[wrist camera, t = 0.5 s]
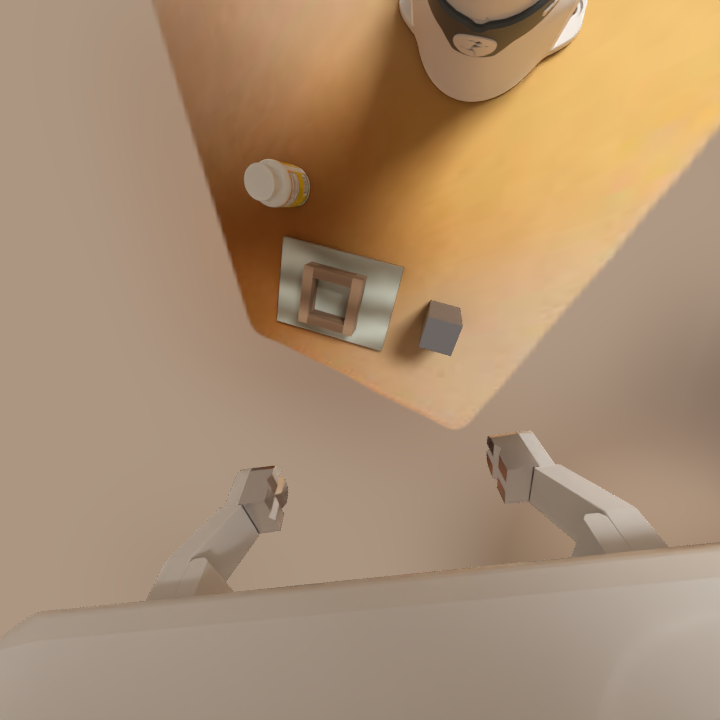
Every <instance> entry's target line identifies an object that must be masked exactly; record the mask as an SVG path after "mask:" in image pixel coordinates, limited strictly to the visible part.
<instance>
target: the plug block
mask: <svg viewBox="0 0 720 720" xmlns="http://www.w3.org/2000/svg"><path fill="white" fill-rule="evenodd" d="M462 327H463V325H462V318H461V311H460V308H458V307H454V306H451V305H447V304H443V303H440V302H436V301H432V300H431V302H430V305H429V308H428V311H427V314H426V317H425V320H424V323H423V326H422V331H421V336H420V342H419V347H421V348H424V349H428V350H431V351H435V352H438V353H442V354H445V355H448V356H451V354H452V352H453V349H454V347H455V344H456V342H457V339H458V337H459V334H460V332H461V329H462Z"/></svg>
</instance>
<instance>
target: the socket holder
mask: <svg viewBox="0 0 720 720" xmlns="http://www.w3.org/2000/svg"><path fill="white" fill-rule="evenodd" d="M403 270H404V267H402V266H398V265H394V264H391V263H387V262H383V261H379V260H375V259H371V258H368V257H364V256H360V255H356V254H352V253H349V252H345V251H341V250H337V249H333V248H329V247H326V246H322V245H318V244H314V243H310V242H307V241H303V240H299V239H295V238H291V237H287V236H285V237H283V247H282V260H281V273H280V286H279V300H278V313H277V321H280V322H284V323H287V324H291V325H294V326H297V327H301V328H304V329H308V330H311V331H314V332H318V333H321V334H324V335H328V336H331V337H335V338H338V339H341V340H345V341H348V342H351V343H355V344H358V345H362V346H365V347H368V348H372V349H375V350H378V351H382V348H383V344H384V340H385V337H386V333H387V329H388V326H389V322H390V318H391V314H392V311H393V307H394V303H395V300H396V296H397V292H398V289H399V285H400V281H401V277H402V274H403Z"/></svg>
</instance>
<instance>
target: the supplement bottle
mask: <svg viewBox="0 0 720 720" xmlns="http://www.w3.org/2000/svg"><path fill="white" fill-rule="evenodd" d="M244 184H245V188H246V190H247V192H248V193H249V195H250V196H251V197H252V198H254V199H255V200H258V201H260V202H261V203H263V204H264V205H266V206H269V207H298V206H301V205H302V204H304V203H305V201H306V200H307V199H308V196H309V193H310V183H309V179H308V177H307V175H306V173H305V172H304V171H303V170H302V169H301V168H300V167H298V166H295V165H292V164H288V163H284V162H281V161H277V160H274V159H264V160H262V161H260V162H258V163H253V164H251V165H250V166H249V167H248V168H247V169H246V171H245V175H244Z"/></svg>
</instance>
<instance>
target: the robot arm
mask: <svg viewBox="0 0 720 720" xmlns="http://www.w3.org/2000/svg"><path fill="white" fill-rule="evenodd" d="M587 2H588V0H399V6H400V13H401V16H402V18H403V20H404V21H405V23H406V24H407V26H408V27H409V28H410V30H411V31H412V32H413V34H414V35H415V38H416V41H417V44H418V48H419V53H420V57H421V60H422V63H423V66H424V68H425V70H426V72H427V74H428V76H429V78H430V79H431V81H432V82H433V83H434V84H435V86H436V87H437V88H438V89H439V90H441V91H442V92H443V93H445V94H446V95H448V96H450V97H452V98H454V99H457V100H461V101H466V102H477V101H484V100H488V99H491V98H494V97H496V96H498V95H501V94H502V93H504V92H506V91H508V90H509V89H511V88H512V87H514V86H515V85H516V84H517V83H519V82H520V81H521V80H522V79H523V78H524V77H525V76H526V75H527V74H528V73H529V72H530V71H531V70H532V69H533V68H534V67H535V66H536V65H537V64H538V63H539V62H540V61H541V60H542V59H544V58H545V57H546V56H548V55H551V54H552V53H554V52H556V51H558V50H560V49H562V48H564V47H565V46H567V45H568V44H569V43H571V42H572V41H573V40H574V39H575V37H576V36H577V34H578V32H579V30H580V28H581V26H582V22H583V18H584V14H585V10H586V6H587ZM574 11H575V14H574V15H573V16H572V14H573V13H574ZM487 445H488V447H489V450H488V451H487V463H488V467H489V470H490V473H491V475H492V477H493V478H494V479H496V480H497V488H498V491H499V493H500V495H501V497H502V500H503V502H504V504H508V503H520V502H529V503H530V504H531V505H532V506H534V507H535V508H536V509H537V510H538V511H540V512H541V513H542V514H543V515H544V516H545V517H547V518H548V519H549V520H550V521H552V522H553V523H554V524H555V525H556V526H557V527H559V528H560V529H561V530H562V531H563V532H565V533H566V534H567V535H568V536H569V537H571V538H572V539H573V540H574V541H575V542H576V545H575V548H574V551H573V554H572V557H570V558H560V559H550V560H540V561H532V562H531V561H530V562H521V563H511V564H501V565H492V566H481V567H472V568H462V569H453V570H442V571H432V572H423V573H413V574H403V575H394V576H384V577H374V578H365V579H355V580H345V581H335V582H326V583H316V584H306V585H296V586H287V587H277V588H267V589H257V590H248V591H238V592H234V591H233V590H232V589H231V587H229V585H228V584H227V583H226V581H227V580H228V578H229V577H230V575H231V574H232V573H233V571H234V570H235V568H236V567H237V566H238V564H239V563H240V562H241V560H242V559H243V557H244V556H245V555H246V553H247V552H248V550H249V549H250V548H251V546H252V545H253V543H254V542H255V540H256V539H257V538H258V536H259V534H261V533H267V532H274V531H280V530H281V526H282V522H283V517H284V512H283V511H282V508H283V507H284V505H285V504H286V503H287V498H288V487H287V483H286V480H285V479H284V478H283V477H281V476H280V474H281V470H280V468H279V467H278V466H268V467H261V468H252V469H243V470H240V471H239V472H238V473H237V476H236V478H235V481H234V483H233V485H232V488H231V490H230V493H229V495H228V498H227V500H226V503H225V505H224V507H222V508H219V509H218V510H217V511H216V512H215V513H214V514H213V515H212V516H211V517H210V518H209V519H208V520H207V521H206V522H205V523H204V524H203V525H202V526H201V527H200V528H199V529H198V530H197V531H196V532H195V533H194V534H193V535H192V536H191V537H190V538H189V539H187V540H186V541H185V542H184V543H183V544H182V545H181V546H180V547H179V548H178V549H177V550H176V551H175V552H174V553H173V554H172V555H171V556H170V557H169V558H168V559H167V560H166V561H165V563H164V565H163V567H162V569H161V572H160V573H159V575H158V578H157V579H156V581H155V584H154V585H153V587H152V589H151V592H150V594H149V596H148V597H147V600H146V601H139V602H129V603H119V604H109V605H100V606H91V607H80V608H70V609H60V610H49V611H42V612H38V613H36V614H33V615H31V616H30V617H28V618H26V619H25V620H23V621H22V622H21V623H19V624H18V625H17V626H15V627H14V628H12V629H11V630H10V631H8V632H7V633H6V634H5V635H3V636H2V637H1V638H0V720H720V542H716V543H707V544H696V545H687V546H677V547H668V546H667V544H666V543H665V542H664V541H663V540H662V538H661V537H660V536H659V535H658V534H657V532H656V531H655V530H654V529H653V528H652V526H651V525H650V524H649V523H648V522H647V520H646V519H645V518H644V517H643V516H642V514H641V513H640V512H639V511H638V510H637V509H636V508H635V507H634V506H632V505H630V504H629V503H627V502H625V501H623V500H621V499H619V498H618V497H616V496H614V495H613V494H611V493H609V492H607V491H606V490H604V489H602V488H600V487H599V486H597V485H595V484H593V483H592V482H590V481H588V480H586V479H585V478H583V477H581V476H579V475H577V474H576V473H574V472H572V471H570V470H569V469H567V468H565V467H564V466H562V465H560V464H557V465H555V464H554V462H553V461H552V459H551V458H550V457H549V455H548V454H547V452H546V451H545V449H544V448H543V446H542V445H541V443H540V442H539V441H538V439H537V438H536V436H535V435H534V434H533V432H532V431H530V430H527V431H519V432H512V433H505V434H498V435H492V436H488V437H487Z"/></svg>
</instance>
